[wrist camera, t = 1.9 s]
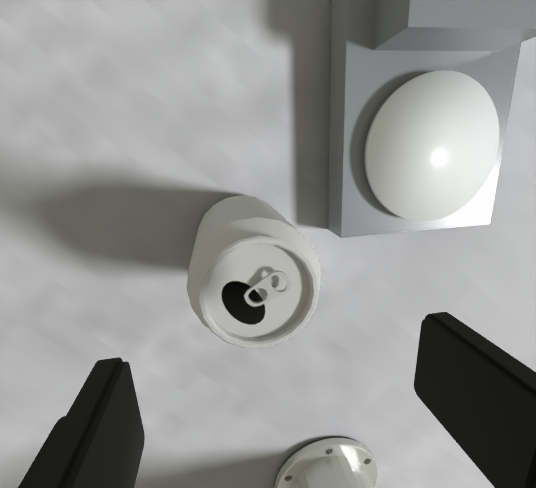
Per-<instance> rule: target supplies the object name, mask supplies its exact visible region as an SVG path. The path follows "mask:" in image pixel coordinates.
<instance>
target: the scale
mask: <svg viewBox="0 0 536 488" xmlns="http://www.w3.org/2000/svg"><path fill="white" fill-rule="evenodd" d="M533 37H536V0H331V55H330V129H329V202H328V230H330V231H332V232H333V233H335V234H336V235H338V236H339V237H341V238H343V237H354V236H365V235H376V234H386V233H397V232H408V231H419V230H430V229H441V228H451V227H462V226H473V225H484V224H490V220H491V214H492V208H493V203H494V197H495V191H496V185H497V180H498V174H499V168H500V162H501V156H502V151H503V145H504V139H505V133H506V128H507V122H508V116H509V110H510V105H511V99H512V93H513V87H514V81H515V76H516V70H517V64H518V58H519V53H520V47H521V42H523V41H525V40H528V39H531V38H533Z"/></svg>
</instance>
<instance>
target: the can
mask: <svg viewBox="0 0 536 488" xmlns="http://www.w3.org/2000/svg"><path fill="white" fill-rule="evenodd" d="M320 284H321V271H320V262H319V259H318V257H317V255H316V253H315V251H314V248H313V246H312V244H311V243H310V242H309V241H308V240H307V239H306V238H305V237H304V236H303V235H302V234H301V233H300V232H299V231H298V230H297V229H296V228H295V227H294V226H293V225H292V224H290V223H289V222H288V221H287V220H286V219H285V218H284V217H283V216H281V215H280V214H279V213H278V212H277V211H276V210H275V209H274V208H272V207H271V206H270V205H269V204H268V203H266V202H264V201H262V200H260V199H258V198H256V197H250V196H243V195H239V196H234V197H228V198H225V199H224V200H222V201H220V202H218V203H216V204H214V205H213V206H212V207H211V208H210V209H209V210H208V211H207V213H206V214H205V215H204V217H203V219H202V221H201V223H200V225H199V227H198V231H197V235H196V240H195V244H194V248H193V252H192V257H191V261H190V265H189V271H188V281H187V291H188V295H189V299H190V303H191V307H192V309H193V310H194V312H195V313H196V315H197V316H198V318H199V319H200V321H201V322H202V323H203V324H204V325H205V326H206V327H208V328H209V329H210V330H211V332H213V333H214V334H215V335H217V336H218V337H219V338H221V339H222V340H223V341H225V342H227V343H230V344H233V345H236V346H239V347H242V348H264V347H268V346H273V345H277V344H279V343H281V342H283V341H285V340H287V339H289V338H290V337H292V336H294V335H295V334H296V333H297V332H298V331H299V330H300V329H301V328H302V327H303V326H304V325H305V324H306V323H307V322H308V320H309V318H310V317H311V315H312V313H313V311H314V310H315V308H316V303H317V299H318V294H319V288H320Z"/></svg>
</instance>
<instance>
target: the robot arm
mask: <svg viewBox="0 0 536 488" xmlns="http://www.w3.org/2000/svg"><path fill="white" fill-rule="evenodd" d="M414 389H415V392H416V394H417V395H418V397H419V398H420V399H421V400H422V402H423V403H424V404H425V405H426V406H427V407H428V409H429V410H430V411H431V412H432V413H433V415H434V416H435V417H436V418H437V419H438V421H439V422H440V423H441V424H442V425H443V426H444V428H445V429H446V430H447V431H448V432H449V434H450V435H451V436H452V437H453V438H454V440H455V441H456V442H457V443H458V444H459V445H460V447H461V448H462V449H463V450H464V451H465V453H466V454H467V455H468V456H469V457H470V459H471V460H472V461H473V462H474V463H475V464H476V466H477V467H478V468H479V469H480V470H481V472H482V473H483V474H484V475H485V476H486V478H487V479H488V480H489V481H490V482H491V483H492V485H493V486H494V487H495V488H536V372H534V371H533V370H531V369H530V368H528V367H527V366H526V365H524V364H523V363H521V362H520V361H518V360H517V359H515V358H514V357H512V356H511V355H509V354H508V353H506V352H505V351H503V350H502V349H500V348H499V347H498V346H496V345H495V344H493V343H492V342H490V341H489V340H487V339H486V338H484V337H483V336H481V335H480V334H478V333H477V332H475V331H474V330H473V329H471V328H470V327H468V326H467V325H465V324H464V323H462V322H461V321H459V320H458V319H456V318H455V317H453V316H452V315H450V314H449V313H447V312H440V313H433V314H428V315H427V316H426V317H425V319H424V320H423V321H422V324H421V332H420V340H419V348H418V356H417V364H416V372H415V379H414ZM143 447H144V430H143V425H142V420H141V416H140V411H139V407H138V402H137V397H136V393H135V388H134V383H133V379H132V374H131V369H130V365H129V363H128V362H123V361H122V359H121V358H111V359H104V360H99V361H97V362H96V364H95V366H94V367H93V369H92V371H91V373H90V374H89V376H88V378H87V380H86V382H85V383H84V385H83V387H82V389H81V390H80V392H79V394H78V396H77V397H76V399H75V401H74V403H73V405H72V406H71V408H70V410H69V412H68V413H67V415H66V416H64V417H62V418H61V419H59V420H58V422H57V423H56V424H55V426H54V427H53V429H52V431H51V432H50V434H49V436H48V438H47V439H46V441H45V443H44V444H43V446H42V448H41V449H40V451H39V453H38V455H37V456H36V458H35V460H34V461H33V463H32V465H31V467H30V468H29V470H28V472H27V473H26V475H25V477H24V479H23V480H22V482H21V484H20V485H19V487H18V488H134V485H135V481H136V477H137V472H138V468H139V464H140V460H141V456H142V451H143ZM377 475H378V473H377V465H376V462H375V460H374V458H373V456H372V454H371V453H370V451H369V450H368V449H367V448H366V447H365V446H364V445H362V444H361V443H359V442H357V441H354V440H352V439H346V438H329V439H323V440H320V441H317V442H314V443H312V444H309V445H307V446H305V447H303V448H302V449H300V450H299V451H297V452H296V453H295V454H294V455H292V456H291V457H290V458H289V459H288V460H287V461H286V463H285V464H284V465H283V466H282V468H281V469H280V471H279V473H278V475H277V478H276V481H275V488H374V486H375V484H376V480H377Z"/></svg>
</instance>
